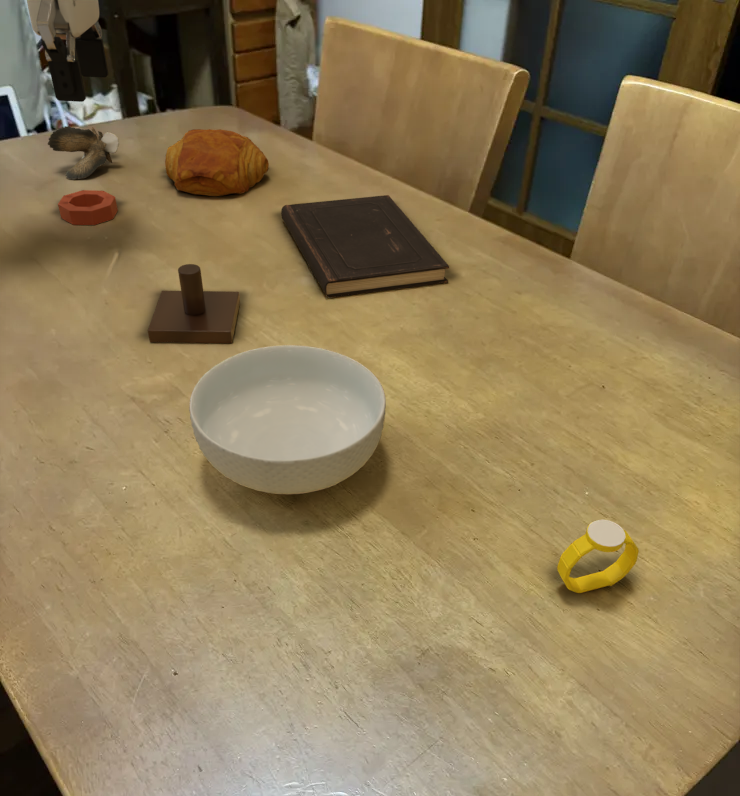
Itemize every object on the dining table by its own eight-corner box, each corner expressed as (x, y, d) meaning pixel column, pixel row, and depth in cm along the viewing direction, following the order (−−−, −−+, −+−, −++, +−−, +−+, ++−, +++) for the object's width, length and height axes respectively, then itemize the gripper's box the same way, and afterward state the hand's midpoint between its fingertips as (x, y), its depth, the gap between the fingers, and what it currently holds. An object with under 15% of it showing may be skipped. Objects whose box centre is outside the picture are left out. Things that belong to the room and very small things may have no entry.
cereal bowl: (319, 552, 61) (318, 487, 56) (159, 480, 66) (145, 416, 61) (414, 438, 72) (420, 376, 67) (270, 385, 77) (265, 324, 72)
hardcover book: (387, 210, 110) (388, 194, 109) (447, 282, 95) (449, 265, 93) (281, 221, 106) (280, 205, 105) (325, 298, 91) (324, 281, 89)
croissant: (189, 174, 124) (176, 121, 119) (279, 170, 120) (269, 116, 115) (153, 205, 113) (137, 149, 108) (250, 202, 110) (238, 144, 105)
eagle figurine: (84, 147, 122) (40, 153, 115) (99, 111, 117) (54, 114, 111) (116, 182, 122) (74, 190, 115) (132, 148, 118) (89, 153, 111)
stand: (149, 342, 82) (139, 288, 78) (163, 301, 89) (154, 249, 85) (232, 343, 83) (226, 289, 78) (240, 302, 89) (235, 250, 85)
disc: (57, 224, 103) (53, 210, 102) (70, 203, 109) (67, 189, 107) (109, 225, 104) (106, 211, 102) (121, 204, 109) (118, 190, 108)
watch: (615, 564, 61) (635, 512, 56) (632, 590, 59) (654, 538, 55) (547, 578, 59) (562, 525, 55) (562, 605, 57) (580, 552, 53)
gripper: (37, -109, 82) (73, 66, 94) (-24, -91, 69) (26, 109, 81) (106, -105, 82) (133, 69, 94) (58, -86, 70) (96, 112, 81)
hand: (83, 87), depth 88 cm, fingers open, 9 cm apart
